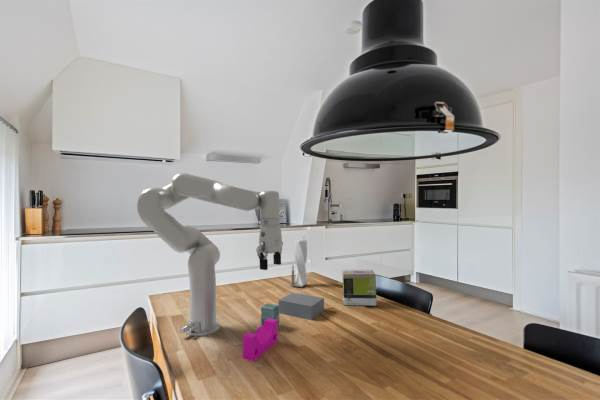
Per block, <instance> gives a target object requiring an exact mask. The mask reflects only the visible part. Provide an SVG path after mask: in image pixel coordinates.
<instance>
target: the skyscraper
mask: <svg viewBox="0 0 600 400" xmlns="http://www.w3.org/2000/svg"><path fill="white" fill-rule="evenodd" d="M301 237H302V238H301ZM307 257H308V241H307V239H305V235H300V236H299V235H298V236H297V237H296V238H295V240H294V260H295V264H296V265H295V266H296V267H294V265H292V266H291V269H292V270H291V284H290V286H291V287H297V288H298V287H299V288H303V287H305V286H306V285H308V277H307V276H308V275H307V268H306V265H307V264H306V263H307ZM294 268H296V270H294Z"/></svg>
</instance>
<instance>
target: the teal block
mask: <svg viewBox="0 0 600 400" xmlns="http://www.w3.org/2000/svg"><path fill="white" fill-rule="evenodd" d="M260 311H261V312H260V313H261V314H260V315H261V317H260V319H261V321H260V322H261V324H260V327H261V326H262V325H263V326H264V321H265V320H266V319H268V318H270V319H275V320H278V327H279V326H280V313H279V304H275V303H270V302H268V303H266V304H265V305H263V306H261V308H260Z"/></svg>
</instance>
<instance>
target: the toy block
mask: <svg viewBox="0 0 600 400" xmlns="http://www.w3.org/2000/svg"><path fill="white" fill-rule="evenodd" d="M278 327H279V326H278V320H275V319H270V318H268V319H266V320H265V321H264V326H263V325H262V326H261V325H260V326H259V327H258V328H257V329H255V331H254V333H250V332H246V333H244V334H243V335H242V359H243V360H247V361H251V362H254V361H256V360H257V359H258V358H259V357H260V356H262V355H263V354H264V353H265V352H267V350H268V349H270V348H271V347H272V346H273V345H274V344H276V343H277V342H278V340H279V339H278V338H279V337H278V335H279V334H278V329H279V328H278Z"/></svg>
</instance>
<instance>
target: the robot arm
mask: <svg viewBox="0 0 600 400" xmlns="http://www.w3.org/2000/svg"><path fill="white" fill-rule="evenodd" d="M189 198H190V199H191V198H192V199H196V200H200V201H203V202H208V203H212V204H216V205H221V206H225V207H229V208H232V209H237V210H242V211H246V212H247V211H248V212H249V211H253V210H259V225H260V227H259V239H258V246H257V247H256V249H255V250H256V255H257V257H258V259H259V269H260V270H263V271H268V269H269V267H268V261H269V260H268V259H267V257H268V255H269V254H272V255H273V265H282V251H283V245H284V242H283V238H282V237H283V236H282V230H281V229H282V228H281V225H280V223H281V221H280V219H281V218H280V194H279V192H278V191H276V190H263V191H253V190H249V189H244V188H241V187H236V186H233V185H228V184H226V183H225V184H224V183H223V182H220V181H218V180H215V179H214V180H213V179H209V178H206V177H201V176H199V175H198V176H197V175H194V174H189V173H183V172H182V173H178V174H176V175H174V176H173V177H172V179H171V182H170V184H168V185H167V186H164V187H149V188H146V189H145V190H143V191H142V192H141V193H140V195H139V196H138V199H137V203H136V205H137V206H136V207H137V213H138V216H139V217H140V219H141V221H142V222H143V224H145V226H147V227H148V228H149V229H150V230H152V231H153V232H154V233H155V234H156V235H157V236H158V237H159V238H160V239H161V240H162V241H163V242H165V243H166V245H168V246H169V247H170V248H171V249H172V250H173V251H174V252H177V253H179V254H183V253H186V252H187V253H188V254H190V255H189V257H188V260H187V267H188V275H189V276H188V277H189V307H190V308H189V316H190V317H189V318H190V319H189V320H188V321H187V322H188V323H187V324H186V326H183V327H181V328H180V329H179V332H180V333H181V334H185V333H186V334H187V335H189V336H192V337H203V336H209V335H212V334H214V333H217V332H218V331H220V329H221V323H220V322H219V321H217V280H216V279H217V278H216V264H217V263H218V262H219V260H220V257H221V252H220V250H219V248H218V246H217V245H216V244H214V242H213V241H211V240H210V239H209V238H208V237H207V236H206V235H205V234H203V232H201V231H200V230H199V229H198V228H196V227H194V226H191V225H187V226H185V225H183V224H181V223H180V222H179V221H178V220H177V219H176V218H175V217H174V216H173V215H172V214H169V213H168V212H167V211H166V210H167V209H170V208H172V207H174V206H176V205H178V204H179V203H181V202H182V203H183V201H185V200H186V201H187V200H188V199H189Z"/></svg>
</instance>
